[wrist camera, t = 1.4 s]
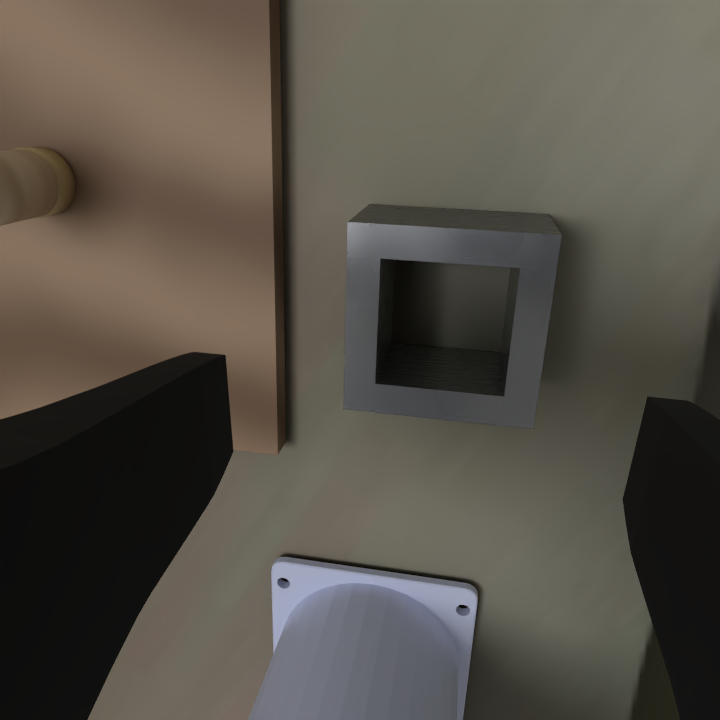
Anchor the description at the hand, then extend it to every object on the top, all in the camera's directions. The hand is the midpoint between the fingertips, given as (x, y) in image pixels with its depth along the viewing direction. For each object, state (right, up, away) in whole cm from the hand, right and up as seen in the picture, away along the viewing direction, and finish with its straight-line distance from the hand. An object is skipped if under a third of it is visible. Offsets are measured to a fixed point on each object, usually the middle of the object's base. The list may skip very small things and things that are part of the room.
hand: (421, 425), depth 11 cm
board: (-11, +7, +10) cm, 17 cm away
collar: (+2, +3, +9) cm, 10 cm away
